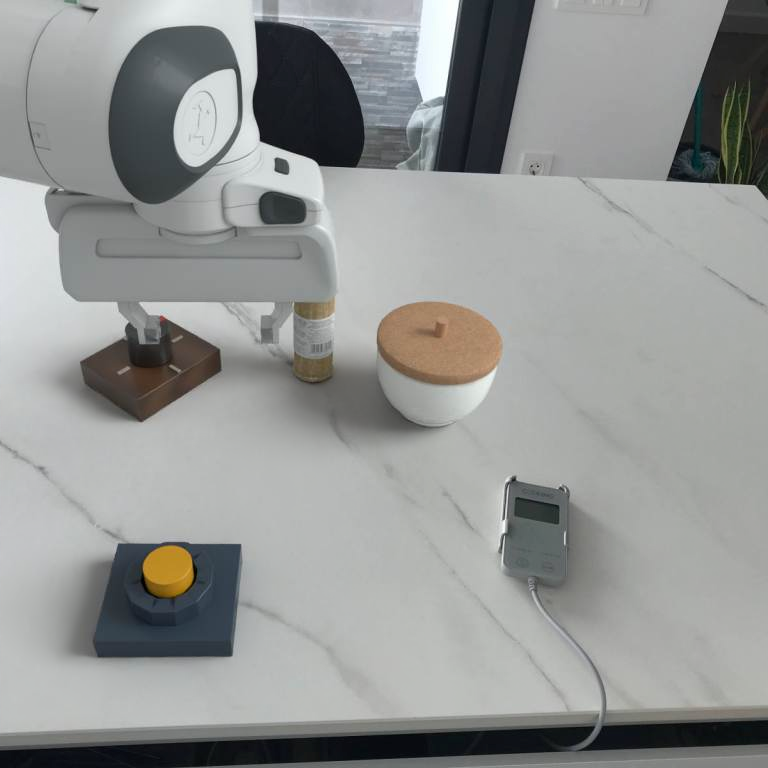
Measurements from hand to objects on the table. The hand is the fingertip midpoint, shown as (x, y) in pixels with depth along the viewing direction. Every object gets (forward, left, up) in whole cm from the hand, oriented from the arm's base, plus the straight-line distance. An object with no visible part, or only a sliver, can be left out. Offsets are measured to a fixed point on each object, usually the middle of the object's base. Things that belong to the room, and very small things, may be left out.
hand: (211, 339), depth 62 cm
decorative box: (+22, -9, -16) cm, 29 cm away
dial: (+6, +16, -13) cm, 22 cm away
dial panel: (+6, +16, -16) cm, 24 cm away
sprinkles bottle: (+18, +4, -16) cm, 25 cm away
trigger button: (-12, -7, -13) cm, 19 cm away
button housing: (-12, -7, -16) cm, 21 cm away
